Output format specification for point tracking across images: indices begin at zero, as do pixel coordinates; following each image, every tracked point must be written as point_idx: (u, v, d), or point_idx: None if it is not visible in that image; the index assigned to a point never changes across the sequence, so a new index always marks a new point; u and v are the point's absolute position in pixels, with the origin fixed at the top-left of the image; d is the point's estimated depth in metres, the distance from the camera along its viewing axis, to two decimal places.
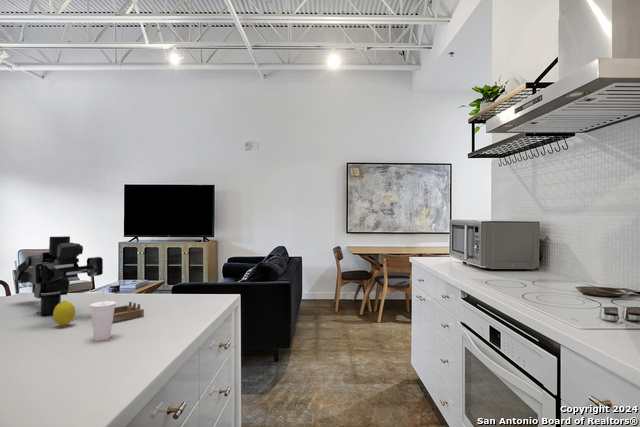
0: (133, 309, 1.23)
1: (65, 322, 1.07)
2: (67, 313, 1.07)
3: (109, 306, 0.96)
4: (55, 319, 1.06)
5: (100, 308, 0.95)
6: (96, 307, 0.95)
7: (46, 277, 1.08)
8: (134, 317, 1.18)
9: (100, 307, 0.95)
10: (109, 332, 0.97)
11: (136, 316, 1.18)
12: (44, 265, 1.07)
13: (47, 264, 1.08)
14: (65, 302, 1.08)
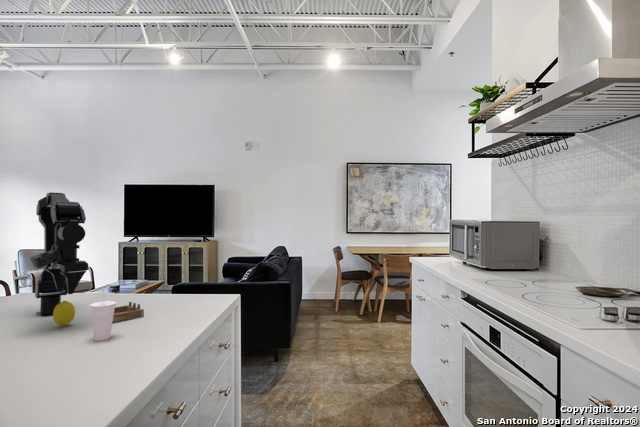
0: (133, 309, 1.23)
1: (65, 322, 1.07)
2: (67, 313, 1.07)
3: (109, 306, 0.96)
4: (55, 319, 1.06)
5: (100, 308, 0.95)
6: (96, 307, 0.95)
7: None
8: (134, 317, 1.18)
9: (100, 307, 0.95)
10: (109, 332, 0.97)
11: (136, 316, 1.18)
12: None
13: (47, 270, 1.11)
14: (65, 302, 1.08)
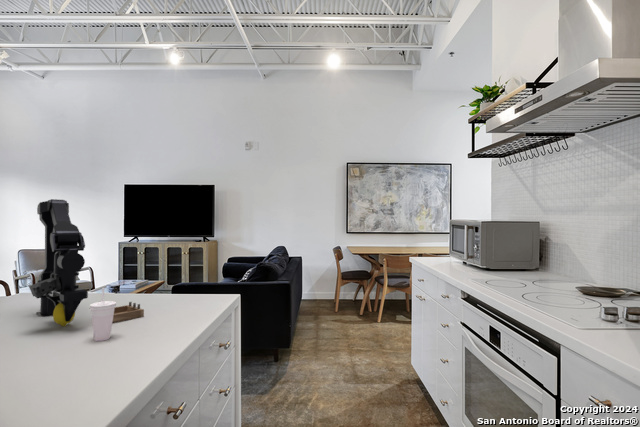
0: (133, 309, 1.23)
1: (65, 322, 1.07)
2: None
3: (109, 306, 0.96)
4: (55, 319, 1.06)
5: (100, 308, 0.95)
6: (96, 307, 0.95)
7: None
8: (134, 317, 1.18)
9: (100, 307, 0.95)
10: (109, 332, 0.97)
11: (136, 316, 1.18)
12: None
13: (48, 298, 1.10)
14: None
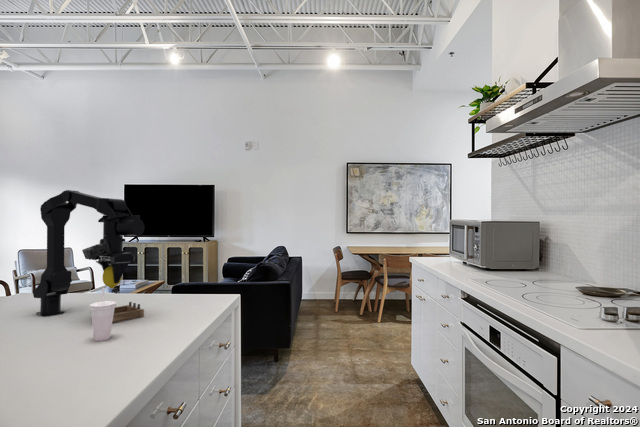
0: (133, 309, 1.23)
1: (113, 284, 1.16)
2: None
3: (109, 306, 0.96)
4: (105, 281, 1.15)
5: (100, 308, 0.95)
6: (96, 307, 0.95)
7: None
8: (134, 317, 1.18)
9: (100, 307, 0.95)
10: (109, 332, 0.97)
11: (136, 316, 1.18)
12: (97, 262, 1.19)
13: (97, 262, 1.19)
14: None
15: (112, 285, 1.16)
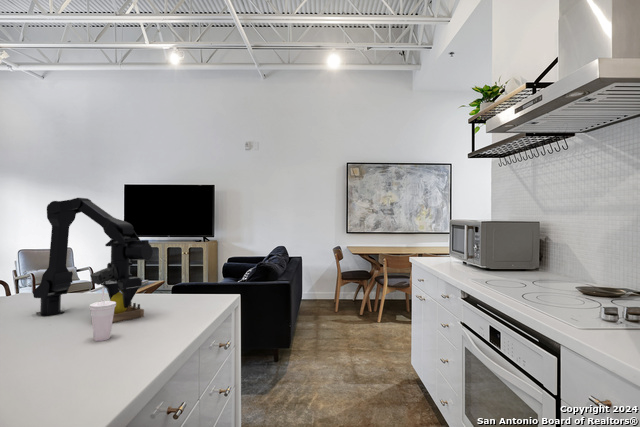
0: (133, 309, 1.23)
1: (120, 312, 1.18)
2: (122, 303, 1.18)
3: (109, 306, 0.96)
4: None
5: (100, 308, 0.95)
6: (96, 307, 0.95)
7: None
8: (134, 317, 1.18)
9: (100, 307, 0.95)
10: (109, 332, 0.97)
11: (136, 316, 1.18)
12: None
13: (102, 285, 1.21)
14: (120, 293, 1.19)
15: (119, 312, 1.18)
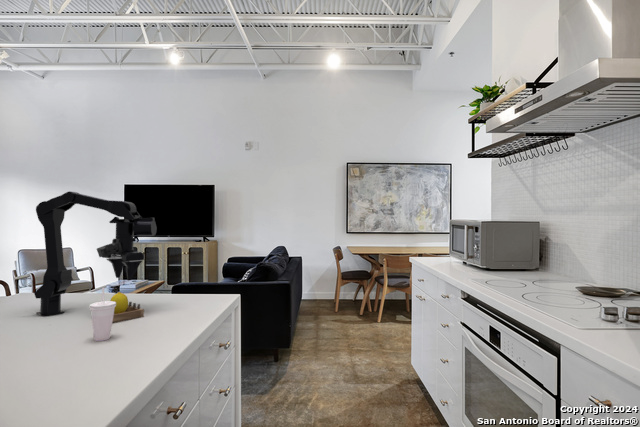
0: (133, 309, 1.23)
1: (120, 312, 1.18)
2: (122, 303, 1.18)
3: (109, 306, 0.96)
4: None
5: (100, 308, 0.95)
6: (96, 307, 0.95)
7: None
8: (134, 317, 1.18)
9: (100, 307, 0.95)
10: (109, 332, 0.97)
11: (136, 316, 1.18)
12: None
13: (108, 260, 1.29)
14: (120, 293, 1.19)
15: None
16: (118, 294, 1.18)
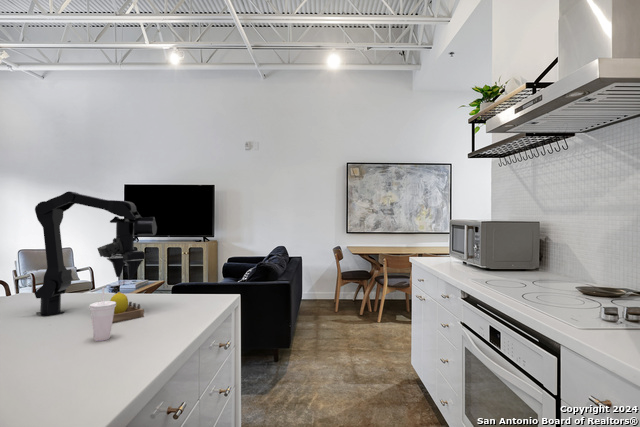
0: (133, 309, 1.23)
1: (120, 312, 1.18)
2: (122, 303, 1.18)
3: (109, 306, 0.96)
4: None
5: (100, 308, 0.95)
6: (96, 307, 0.95)
7: None
8: (134, 317, 1.18)
9: (100, 307, 0.95)
10: (109, 332, 0.97)
11: (136, 316, 1.18)
12: (107, 259, 1.31)
13: (108, 259, 1.30)
14: (120, 293, 1.19)
15: None
16: (118, 294, 1.18)
